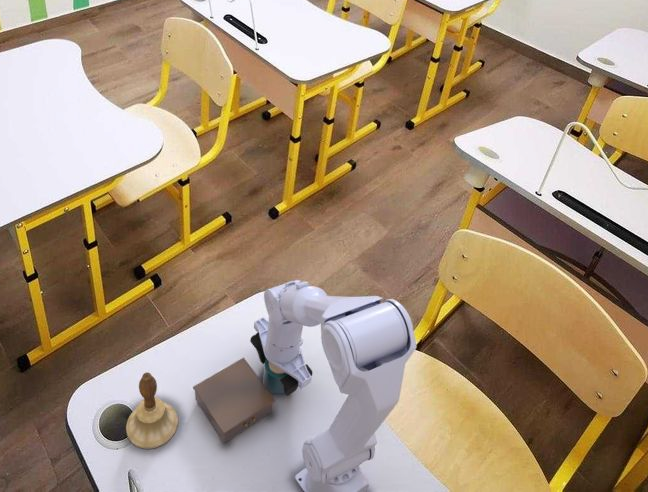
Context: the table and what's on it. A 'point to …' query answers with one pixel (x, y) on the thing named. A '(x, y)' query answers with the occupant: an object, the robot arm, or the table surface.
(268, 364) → the cup
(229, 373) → the brown wooden box
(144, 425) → the hand bell
